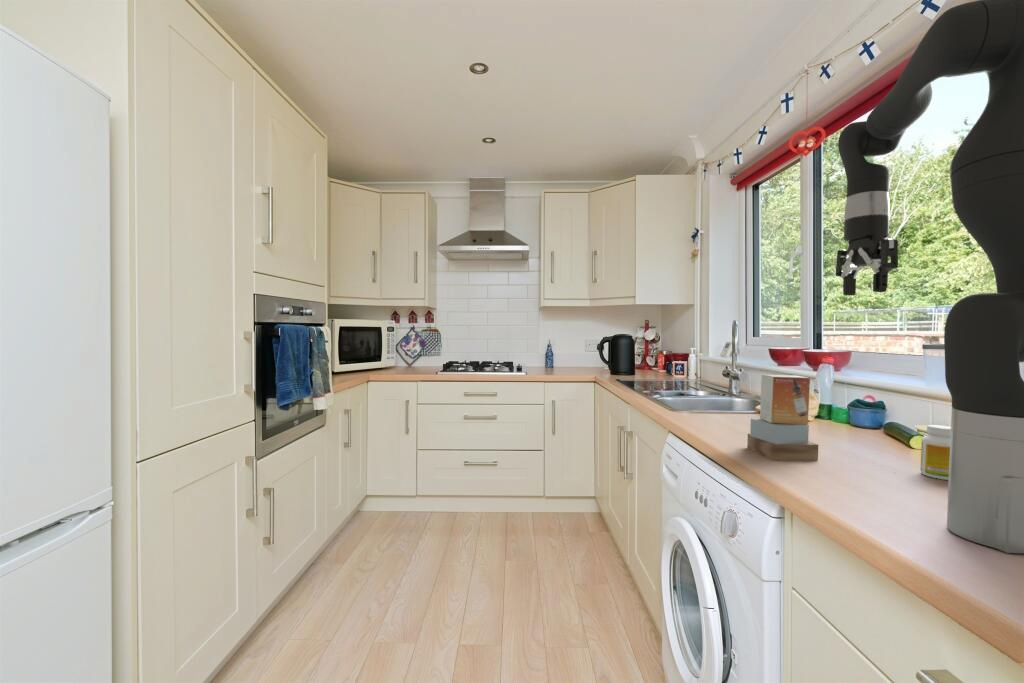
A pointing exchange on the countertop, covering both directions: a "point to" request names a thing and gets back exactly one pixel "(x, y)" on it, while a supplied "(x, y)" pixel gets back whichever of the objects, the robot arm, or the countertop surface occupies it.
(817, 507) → the countertop surface
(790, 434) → the slate top block
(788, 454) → the walnut base block
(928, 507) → the countertop surface
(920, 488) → the countertop surface
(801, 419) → the small box
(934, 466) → the supplement bottle
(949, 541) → the countertop surface
